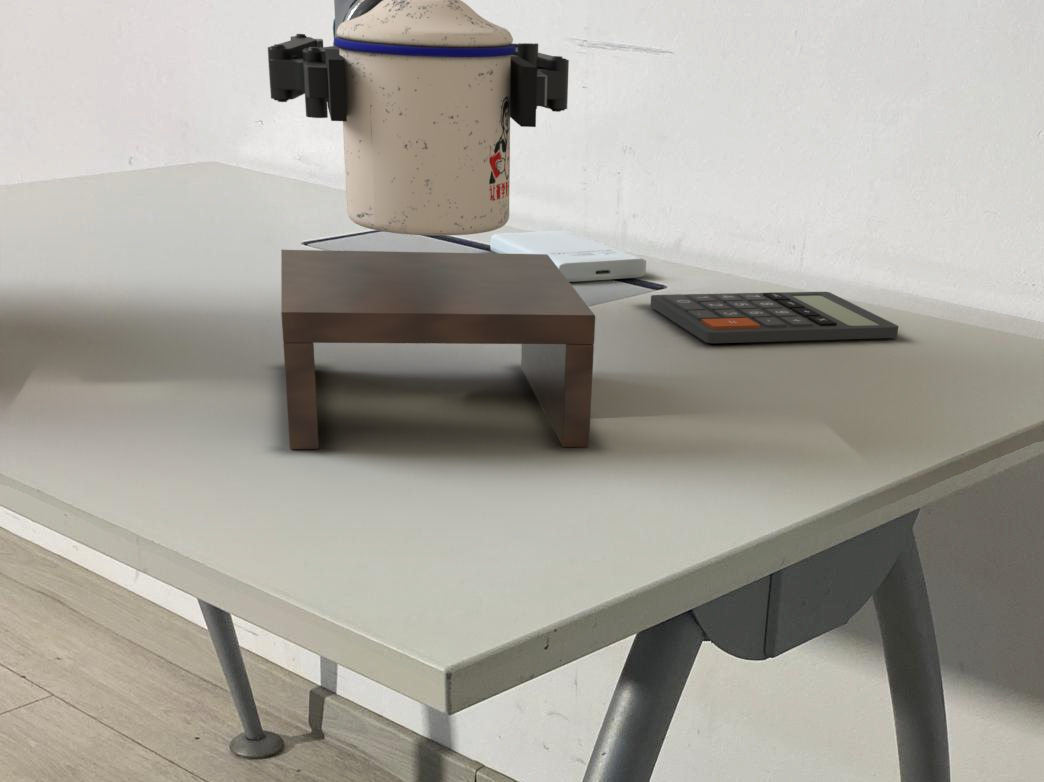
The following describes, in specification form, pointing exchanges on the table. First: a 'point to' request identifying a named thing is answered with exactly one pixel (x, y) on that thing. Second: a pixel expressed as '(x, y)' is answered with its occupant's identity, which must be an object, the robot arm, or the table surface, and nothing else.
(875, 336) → the calculator
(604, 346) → the table surface
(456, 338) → the shelf
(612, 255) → the hard drive
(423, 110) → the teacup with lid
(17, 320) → the table surface
